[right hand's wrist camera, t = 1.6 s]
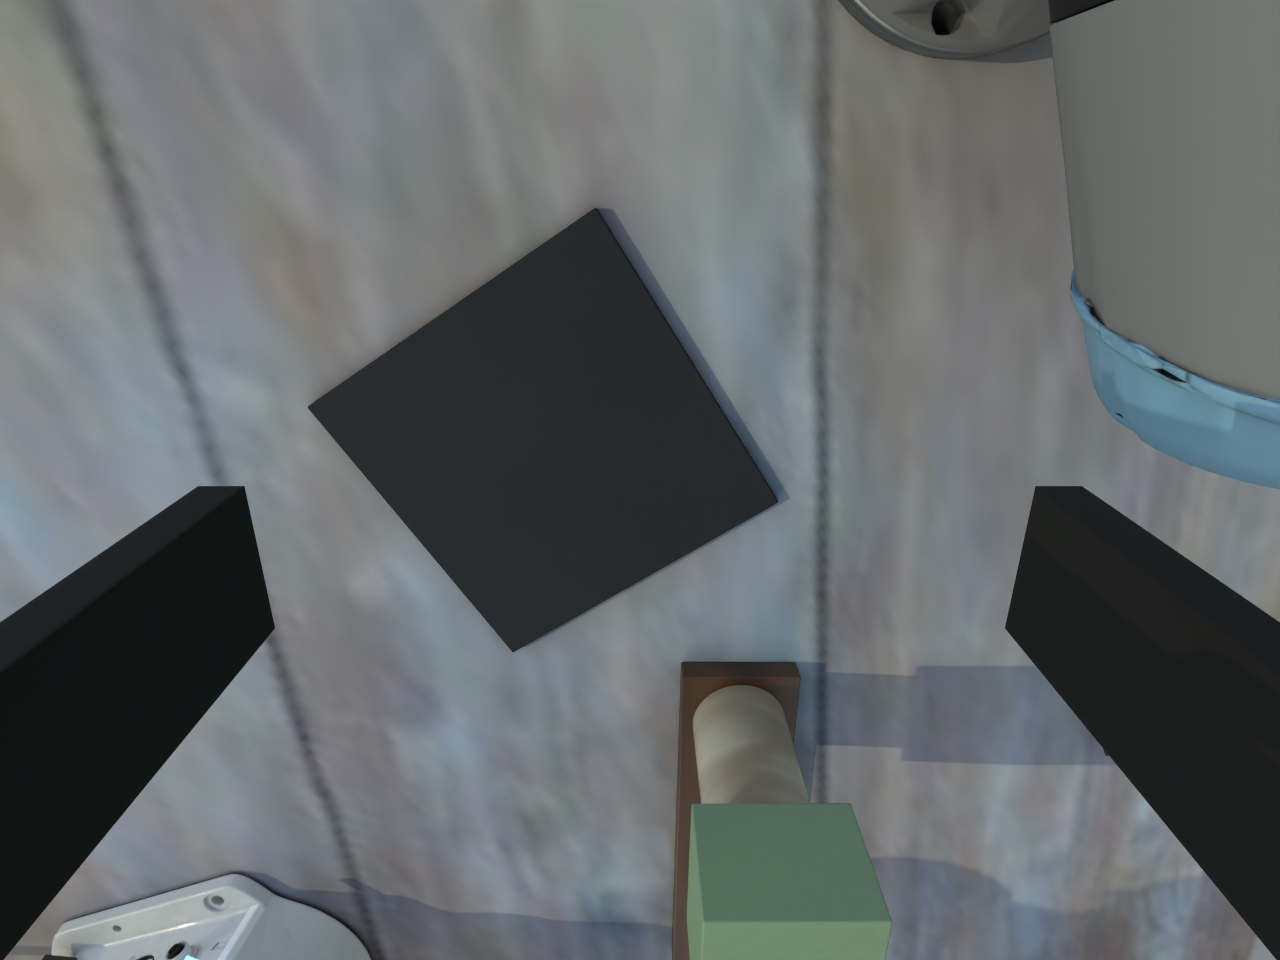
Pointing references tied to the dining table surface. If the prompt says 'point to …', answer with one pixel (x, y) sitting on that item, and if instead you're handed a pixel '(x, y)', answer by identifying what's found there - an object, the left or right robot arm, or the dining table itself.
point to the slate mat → (548, 437)
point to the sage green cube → (782, 885)
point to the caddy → (731, 752)
